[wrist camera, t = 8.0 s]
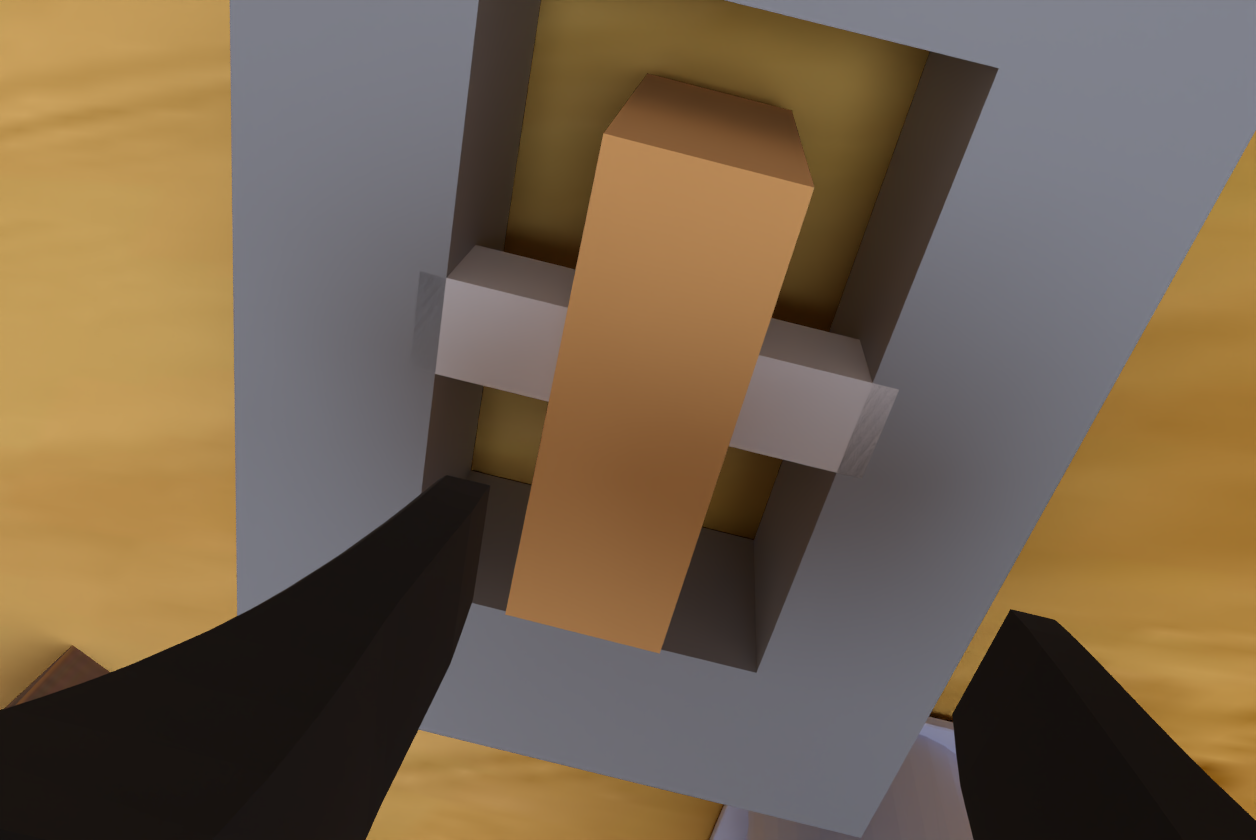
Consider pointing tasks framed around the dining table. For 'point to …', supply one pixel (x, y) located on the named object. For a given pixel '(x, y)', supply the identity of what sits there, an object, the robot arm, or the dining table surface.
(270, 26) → the grey rectangular frame
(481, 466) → the dining table surface
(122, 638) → the dining table surface
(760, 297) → the toy arch block
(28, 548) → the dining table surface
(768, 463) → the dining table surface
